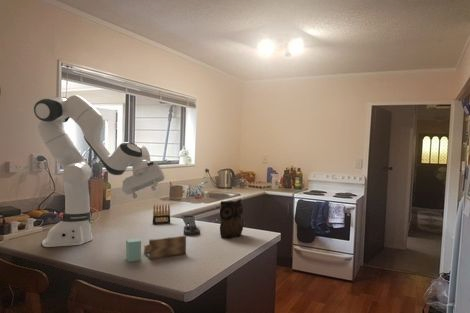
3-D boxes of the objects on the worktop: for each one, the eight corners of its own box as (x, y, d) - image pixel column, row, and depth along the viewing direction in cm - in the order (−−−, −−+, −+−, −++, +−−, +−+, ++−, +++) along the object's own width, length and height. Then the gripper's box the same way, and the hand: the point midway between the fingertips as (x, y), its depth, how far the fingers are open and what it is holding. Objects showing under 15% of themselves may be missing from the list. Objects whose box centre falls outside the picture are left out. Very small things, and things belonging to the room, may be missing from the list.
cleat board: (150, 259, 144) (150, 240, 144) (144, 253, 152) (144, 235, 152) (185, 254, 152) (186, 236, 152) (178, 248, 160) (178, 231, 160)
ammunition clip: (152, 224, 209) (152, 204, 209) (152, 223, 211) (152, 204, 211) (170, 223, 213) (170, 204, 212) (169, 222, 214) (170, 203, 214)
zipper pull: (195, 214, 209) (200, 223, 185) (194, 225, 209) (200, 235, 185) (180, 214, 207) (184, 224, 182) (180, 225, 207) (184, 236, 183)
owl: (244, 234, 188) (244, 198, 187) (238, 240, 176) (239, 201, 175) (222, 232, 191) (222, 197, 191) (215, 238, 179) (215, 200, 178)
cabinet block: (128, 261, 141) (128, 242, 141) (125, 257, 146) (125, 239, 146) (140, 260, 143) (141, 241, 143) (137, 256, 148) (137, 237, 148)
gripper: (119, 176, 163) (119, 198, 154) (158, 159, 163) (161, 181, 153) (125, 183, 168) (126, 205, 158) (164, 168, 167) (167, 189, 158)
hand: (144, 193), depth 156 cm, fingers open, 8 cm apart
